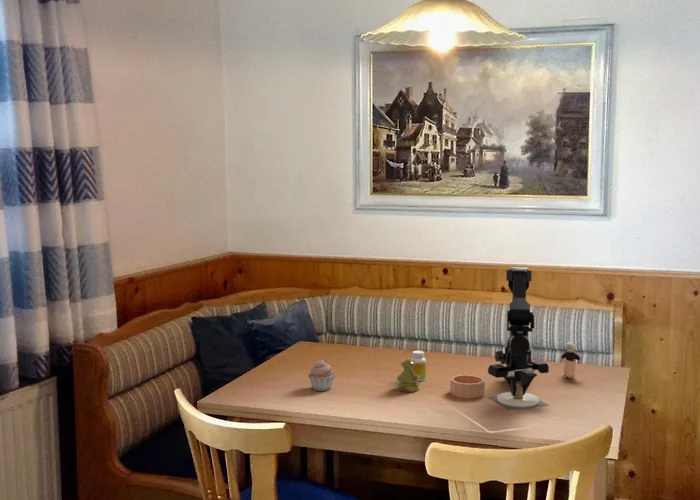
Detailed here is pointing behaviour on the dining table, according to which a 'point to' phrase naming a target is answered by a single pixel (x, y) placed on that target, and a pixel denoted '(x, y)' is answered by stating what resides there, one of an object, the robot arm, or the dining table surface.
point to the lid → (518, 398)
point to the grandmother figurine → (570, 361)
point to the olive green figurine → (408, 378)
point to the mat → (517, 407)
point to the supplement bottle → (419, 364)
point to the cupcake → (321, 376)
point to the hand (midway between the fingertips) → (518, 395)
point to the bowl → (467, 386)
